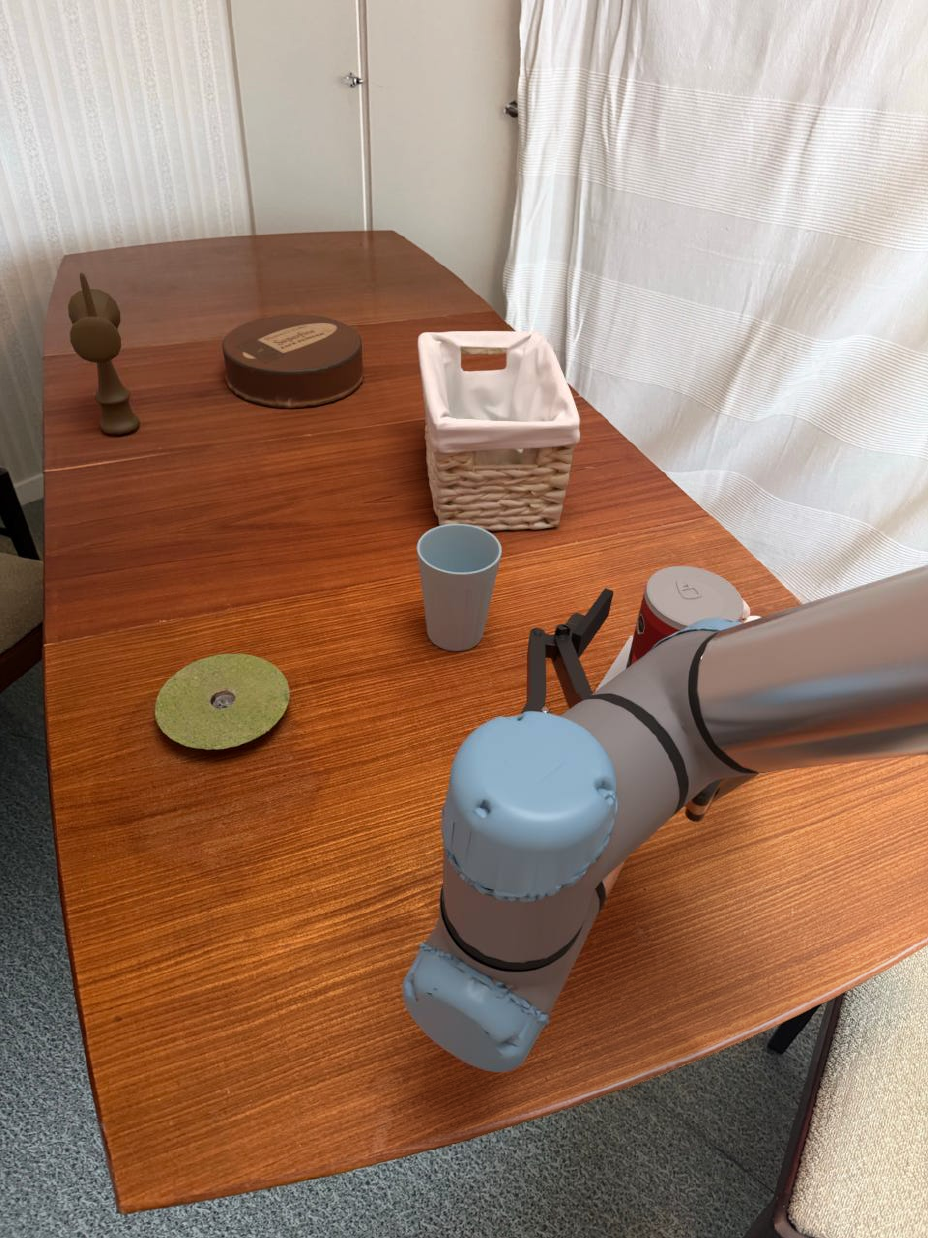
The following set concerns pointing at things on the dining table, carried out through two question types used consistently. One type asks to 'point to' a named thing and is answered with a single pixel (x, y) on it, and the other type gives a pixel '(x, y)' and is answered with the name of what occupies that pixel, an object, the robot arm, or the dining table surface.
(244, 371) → the container
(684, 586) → the canned food
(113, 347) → the kendama
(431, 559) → the cup
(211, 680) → the green grinding disc
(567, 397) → the basket
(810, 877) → the dining table surface
